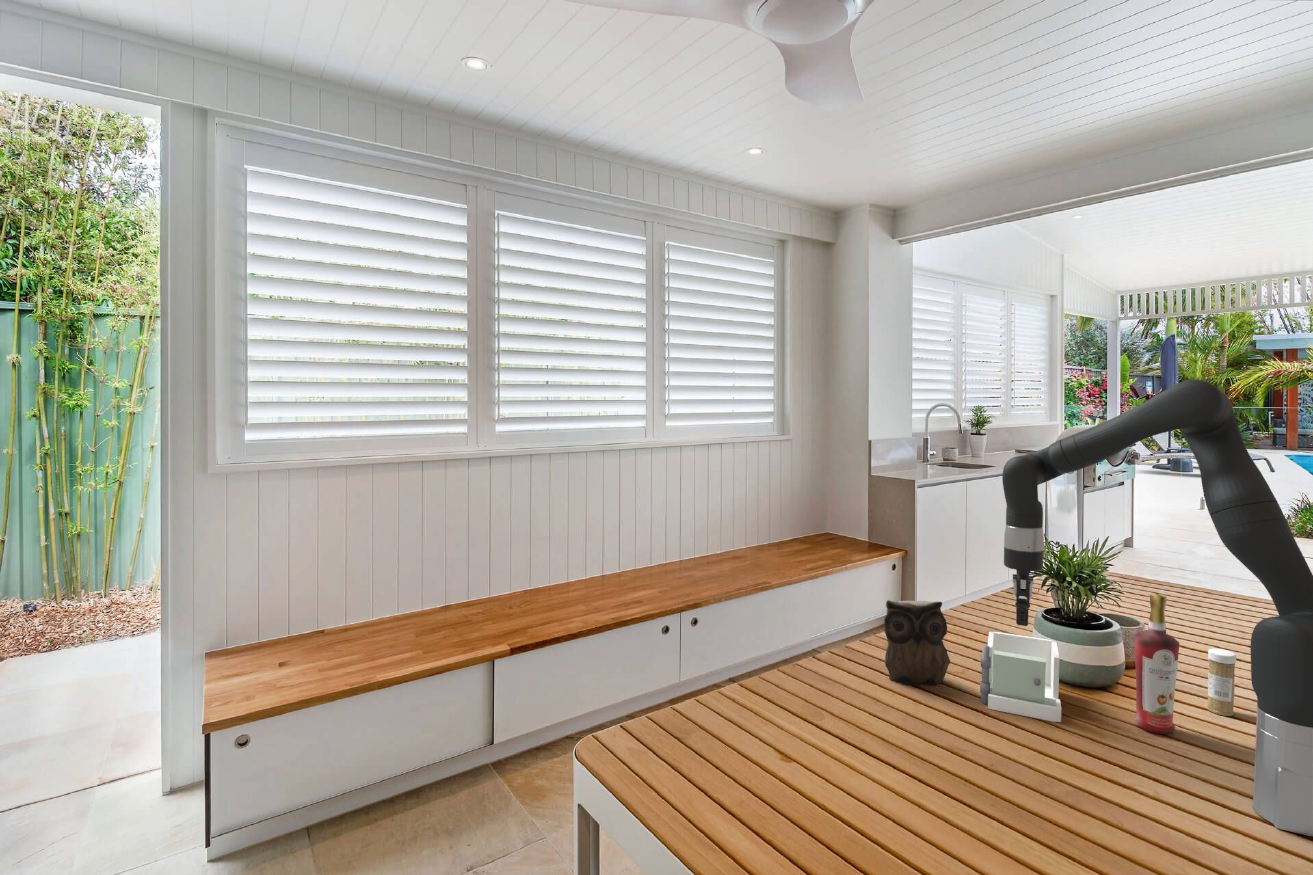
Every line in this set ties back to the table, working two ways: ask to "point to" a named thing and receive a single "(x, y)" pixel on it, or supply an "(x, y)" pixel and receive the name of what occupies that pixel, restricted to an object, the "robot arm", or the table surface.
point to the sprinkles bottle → (1221, 681)
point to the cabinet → (1029, 648)
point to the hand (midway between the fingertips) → (1021, 619)
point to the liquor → (1156, 671)
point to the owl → (915, 642)
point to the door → (1019, 677)
